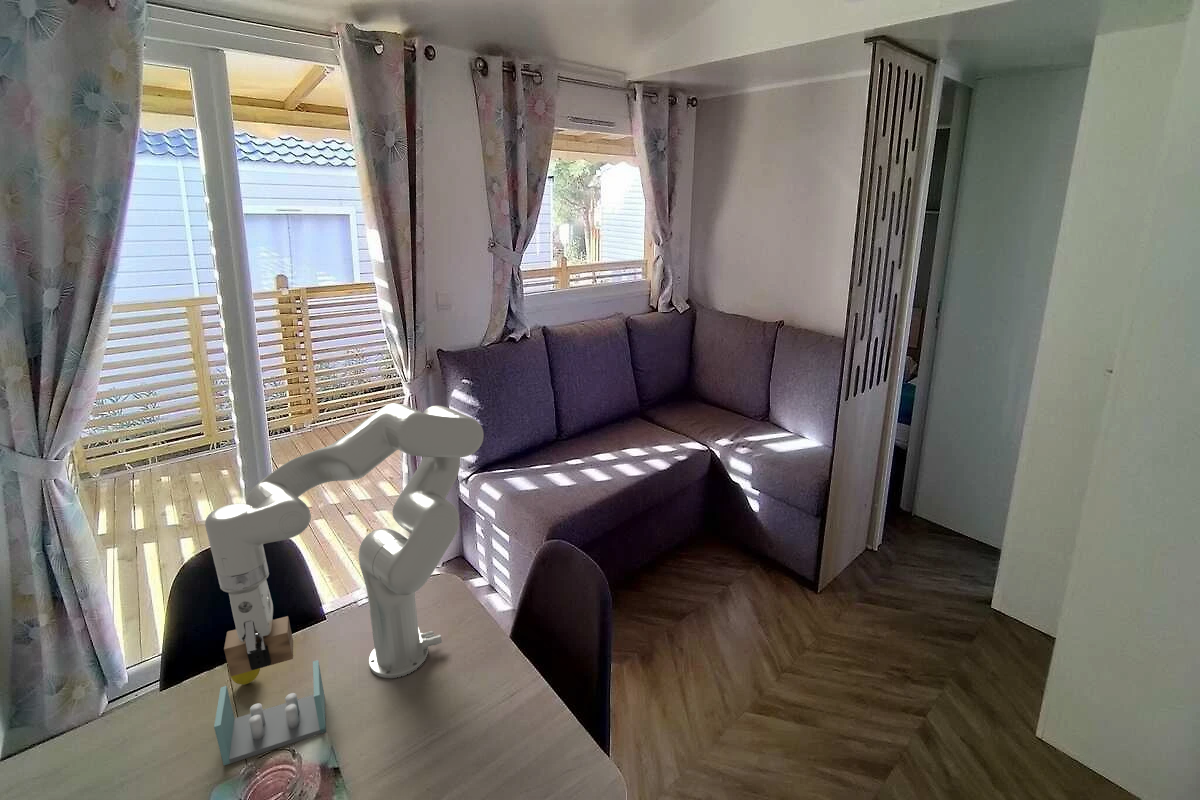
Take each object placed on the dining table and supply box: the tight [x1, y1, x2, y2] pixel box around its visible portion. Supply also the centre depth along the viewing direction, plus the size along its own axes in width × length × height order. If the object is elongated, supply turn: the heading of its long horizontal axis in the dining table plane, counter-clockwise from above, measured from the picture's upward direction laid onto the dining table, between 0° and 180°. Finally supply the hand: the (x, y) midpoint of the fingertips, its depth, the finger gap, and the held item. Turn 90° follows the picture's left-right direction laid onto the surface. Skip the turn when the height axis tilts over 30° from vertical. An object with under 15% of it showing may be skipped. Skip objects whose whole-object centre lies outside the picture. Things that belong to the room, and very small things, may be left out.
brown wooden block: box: [223, 615, 294, 676], centre depth 109 cm, size 10×5×6 cm, turn 115°
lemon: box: [228, 668, 261, 686], centre depth 125 cm, size 6×6×8 cm
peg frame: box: [213, 659, 327, 766], centre depth 114 cm, size 17×10×9 cm, turn 116°
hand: (262, 655), depth 110 cm, fingers closed on brown wooden block, 5 cm apart
